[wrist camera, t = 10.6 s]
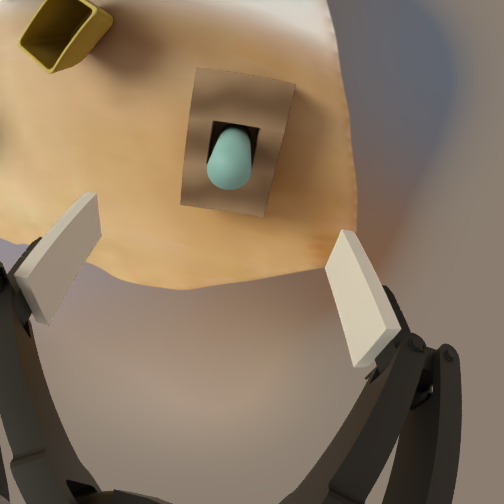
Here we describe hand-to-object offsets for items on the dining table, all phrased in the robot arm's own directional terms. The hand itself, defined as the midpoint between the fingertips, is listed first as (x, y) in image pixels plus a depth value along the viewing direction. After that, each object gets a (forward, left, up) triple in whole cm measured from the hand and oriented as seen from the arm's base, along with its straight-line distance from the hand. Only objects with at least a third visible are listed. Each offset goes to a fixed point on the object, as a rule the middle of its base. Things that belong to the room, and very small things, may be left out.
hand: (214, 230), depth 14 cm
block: (0, 0, -23) cm, 23 cm away
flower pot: (-14, -22, -23) cm, 35 cm away
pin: (0, 0, -22) cm, 22 cm away
